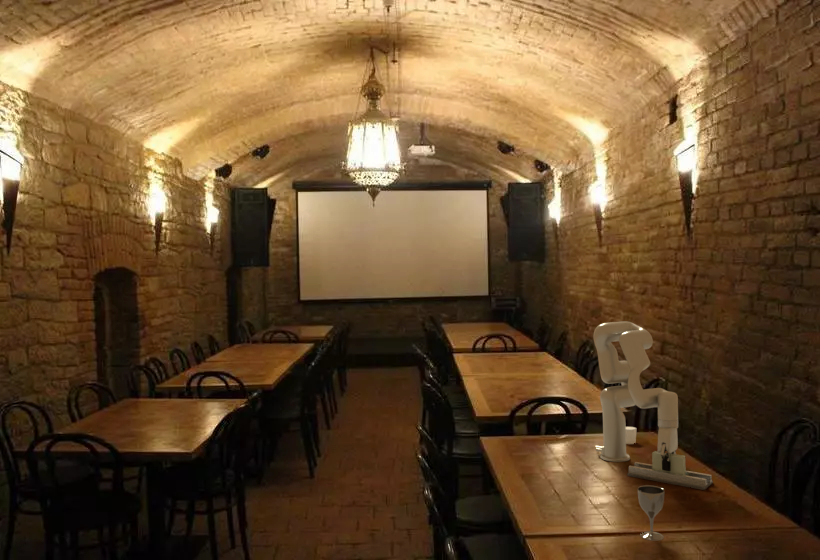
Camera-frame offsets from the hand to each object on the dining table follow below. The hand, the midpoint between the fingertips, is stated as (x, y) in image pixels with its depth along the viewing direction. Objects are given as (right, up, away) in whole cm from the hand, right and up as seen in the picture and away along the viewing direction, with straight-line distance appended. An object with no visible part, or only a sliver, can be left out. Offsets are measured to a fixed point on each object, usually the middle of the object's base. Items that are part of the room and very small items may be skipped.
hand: (668, 468), depth 271 cm
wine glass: (-26, -7, -54) cm, 60 cm away
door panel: (0, -3, 0) cm, 3 cm away
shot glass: (+2, -3, +55) cm, 55 cm away
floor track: (0, -4, 0) cm, 4 cm away
